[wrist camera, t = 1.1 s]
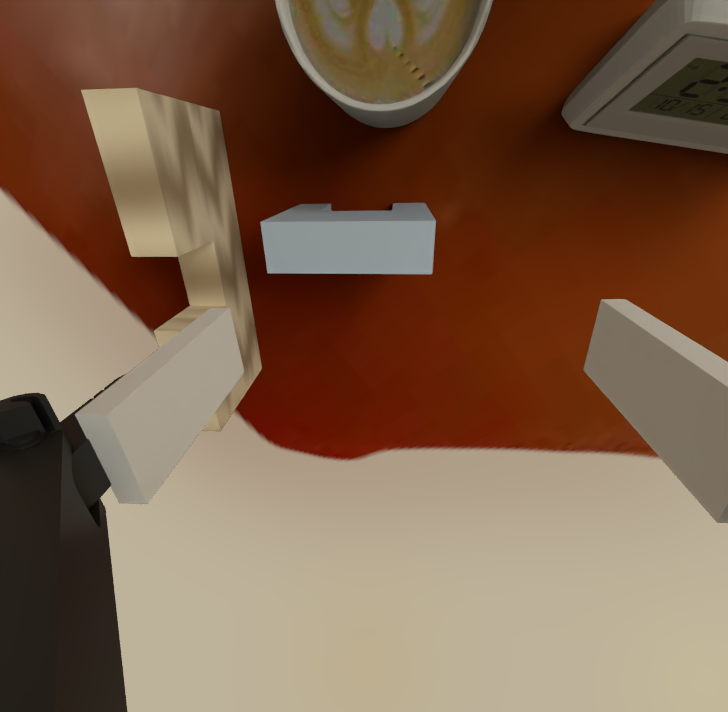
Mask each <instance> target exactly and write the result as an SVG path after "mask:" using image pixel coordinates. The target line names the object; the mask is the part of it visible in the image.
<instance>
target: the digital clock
mask: <svg viewBox="0 0 728 712" xmlns="http://www.w3.org/2000/svg"><path fill="white" fill-rule="evenodd" d="M561 114H562V117H563V118H564V119H565V121H566V122H567V124H568V125H569V126H570V128H572V129H574V130H579V131H584V132H590V133H596V134H602V135H608V136H615V137H621V138H628V139H634V140H641V141H647V142H654V143H660V144H667V145H673V146H680V147H687V148H693V149H700V150H706V151H713V152H719V153H726V154H728V0H656V1H655V2H654V3H653V4H652V5H651V6H650V7H649V8H648V9H647V11H646V12H645V13H644V14H643V15H642V16H641V17H640V18H639V19H638V20H637V21H636V23H635V24H634V25H633V26H632V27H631V28H630V29H629V30H628V31H627V32H626V33H625V35H624V36H623V37H622V38H621V39H620V40H619V41H618V42H617V43H616V44H615V45H614V47H613V48H612V49H611V50H610V51H609V52H608V53H607V54H606V55H605V56H604V57H603V59H602V60H601V61H600V62H599V63H598V64H597V65H596V66H595V67H594V68H593V69H592V71H591V72H590V73H589V74H588V75H587V76H586V77H585V78H584V79H583V80H582V81H581V83H580V84H579V85H578V86H577V87H576V88H575V89H574V90H573V92H572V93H571V94H570V95H569V97H568V98H567V100H566V102H565V104H564V106H563V109H562V113H561Z"/></svg>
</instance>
